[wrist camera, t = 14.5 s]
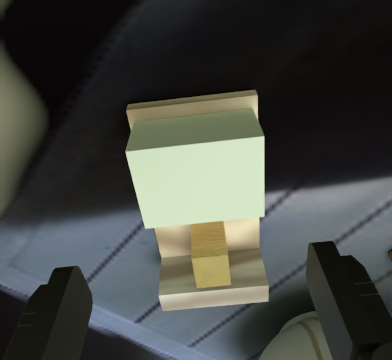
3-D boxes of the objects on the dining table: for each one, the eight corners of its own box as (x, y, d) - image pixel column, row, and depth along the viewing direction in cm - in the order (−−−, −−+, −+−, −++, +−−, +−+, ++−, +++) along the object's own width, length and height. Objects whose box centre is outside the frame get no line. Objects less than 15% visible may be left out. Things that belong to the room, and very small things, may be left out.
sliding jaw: (133, 122, 35) (125, 151, 30) (252, 108, 35) (264, 136, 30) (150, 193, 40) (145, 228, 35) (254, 182, 40) (264, 216, 35)
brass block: (190, 222, 43) (191, 258, 38) (223, 218, 43) (228, 254, 38) (195, 250, 46) (196, 288, 41) (226, 247, 46) (231, 284, 41)
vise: (128, 104, 36) (116, 138, 30) (255, 89, 35) (269, 121, 29) (165, 264, 49) (162, 311, 43) (257, 255, 49) (268, 301, 43)
